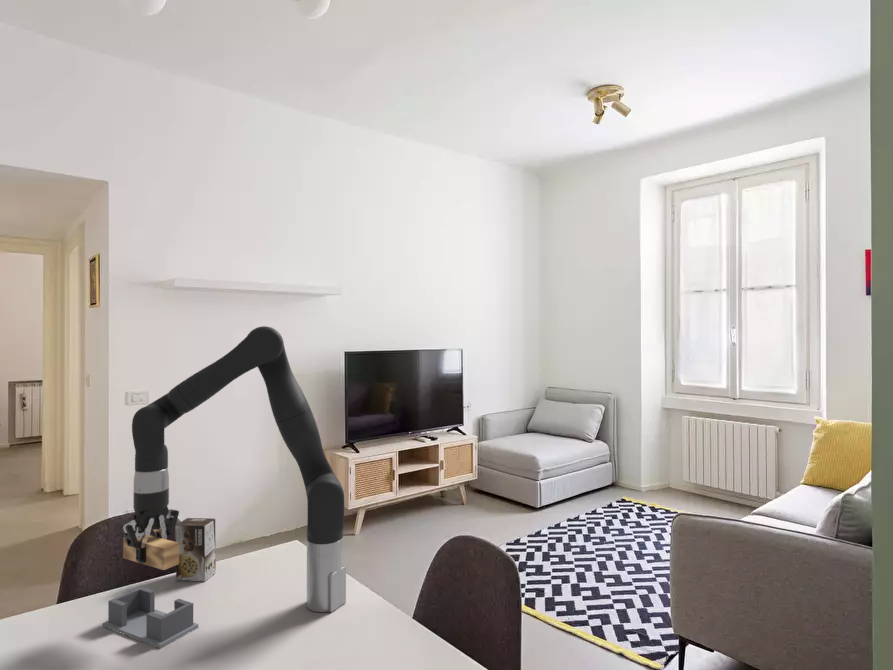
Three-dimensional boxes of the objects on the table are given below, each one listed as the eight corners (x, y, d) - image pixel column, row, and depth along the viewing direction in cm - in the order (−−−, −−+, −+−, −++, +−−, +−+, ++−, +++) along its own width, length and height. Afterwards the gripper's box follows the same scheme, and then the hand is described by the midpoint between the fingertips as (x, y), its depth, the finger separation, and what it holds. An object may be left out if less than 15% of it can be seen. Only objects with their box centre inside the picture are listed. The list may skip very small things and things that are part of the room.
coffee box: (216, 572, 163) (216, 518, 163) (204, 582, 156) (205, 525, 156) (187, 571, 164) (187, 517, 164) (174, 580, 157) (174, 524, 157)
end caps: (198, 627, 132) (198, 602, 132) (160, 648, 123) (160, 621, 123) (142, 608, 141) (142, 584, 141) (103, 626, 133) (103, 601, 133)
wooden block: (179, 563, 131) (179, 542, 131) (163, 570, 127) (163, 548, 127) (138, 552, 138) (138, 532, 138) (123, 558, 134) (123, 537, 134)
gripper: (133, 497, 124) (132, 573, 124) (187, 482, 137) (187, 551, 137) (112, 493, 128) (111, 567, 128) (167, 479, 140) (167, 546, 140)
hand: (151, 558), depth 132 cm, fingers closed on wooden block, 4 cm apart
